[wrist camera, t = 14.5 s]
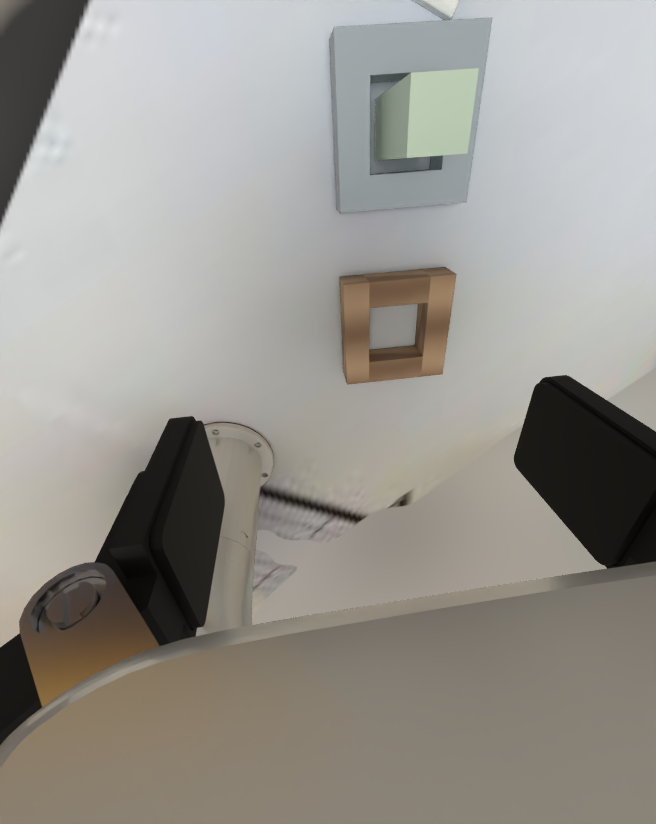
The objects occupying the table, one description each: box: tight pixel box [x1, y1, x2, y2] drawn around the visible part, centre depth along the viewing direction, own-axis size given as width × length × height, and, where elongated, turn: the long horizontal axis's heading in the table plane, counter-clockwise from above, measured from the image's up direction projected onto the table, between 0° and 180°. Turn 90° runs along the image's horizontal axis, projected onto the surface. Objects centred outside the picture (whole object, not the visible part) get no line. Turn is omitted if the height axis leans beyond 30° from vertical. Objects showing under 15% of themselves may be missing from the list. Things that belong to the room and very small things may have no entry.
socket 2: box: [340, 267, 456, 384], centre depth 38 cm, size 11×11×3 cm
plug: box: [374, 68, 479, 160], centre depth 26 cm, size 4×4×10 cm
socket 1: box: [329, 18, 492, 213], centre depth 28 cm, size 11×11×3 cm
